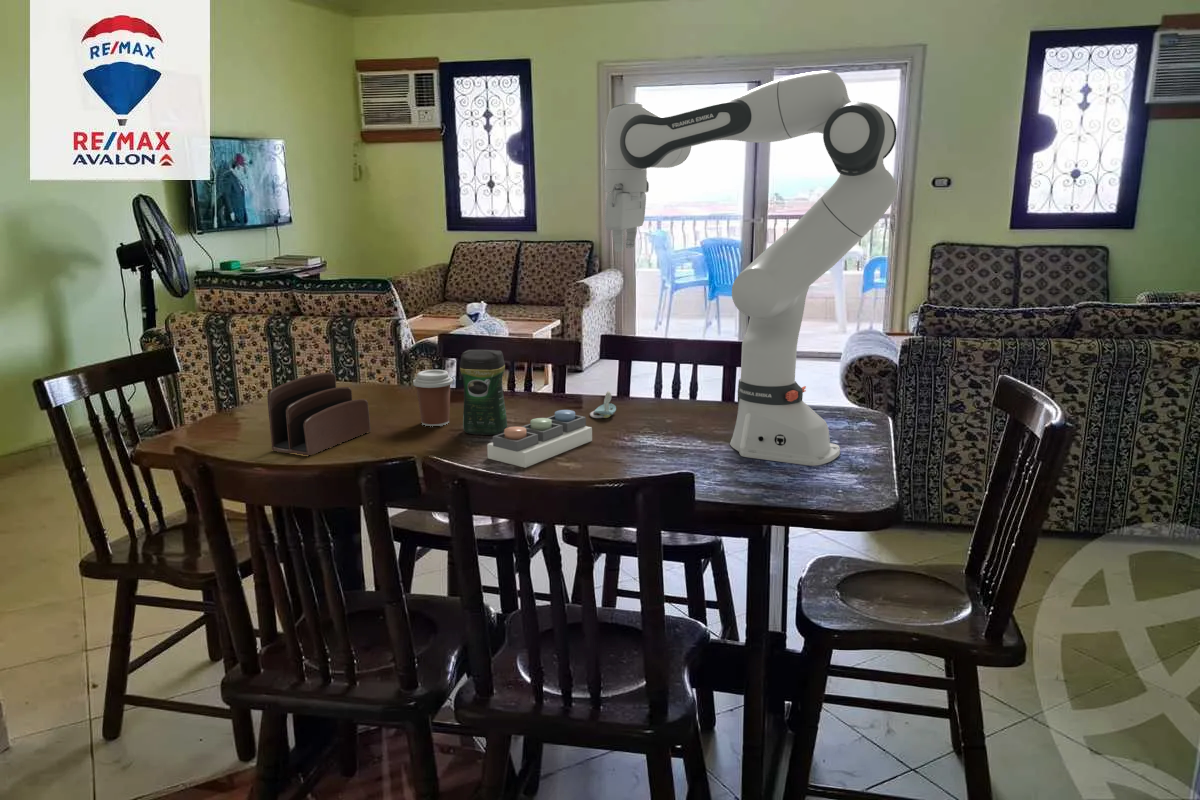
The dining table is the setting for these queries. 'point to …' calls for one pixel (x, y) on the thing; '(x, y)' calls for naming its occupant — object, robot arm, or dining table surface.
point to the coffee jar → (483, 392)
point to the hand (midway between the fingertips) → (624, 249)
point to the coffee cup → (433, 396)
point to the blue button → (565, 415)
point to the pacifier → (604, 408)
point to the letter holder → (314, 415)
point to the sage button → (541, 424)
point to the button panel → (540, 442)
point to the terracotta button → (515, 433)
